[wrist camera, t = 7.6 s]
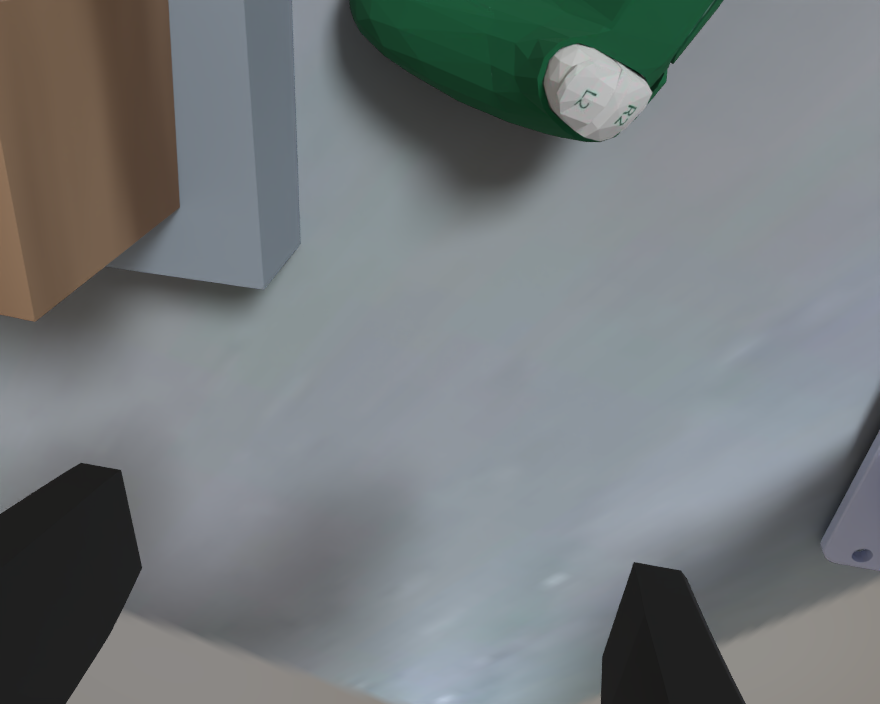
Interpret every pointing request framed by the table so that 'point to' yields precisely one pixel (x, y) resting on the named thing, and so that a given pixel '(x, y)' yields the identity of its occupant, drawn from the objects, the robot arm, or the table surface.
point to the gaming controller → (539, 55)
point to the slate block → (229, 146)
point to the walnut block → (80, 141)
